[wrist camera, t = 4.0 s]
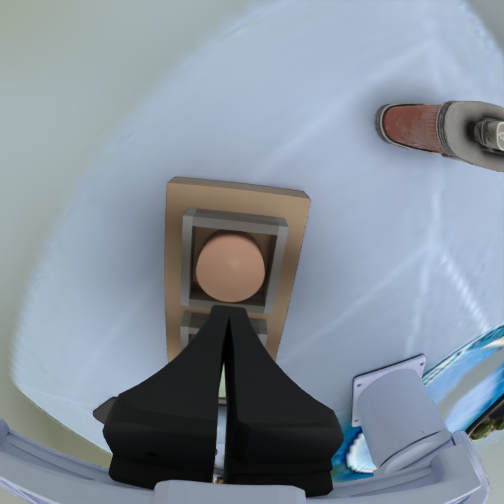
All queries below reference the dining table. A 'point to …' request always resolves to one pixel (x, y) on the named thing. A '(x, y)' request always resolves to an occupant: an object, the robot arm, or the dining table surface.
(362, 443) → the dining table surface
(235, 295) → the terracotta button
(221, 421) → the slate blue button
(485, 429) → the salad plate
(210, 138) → the dining table surface
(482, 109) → the lighter
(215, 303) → the button board
